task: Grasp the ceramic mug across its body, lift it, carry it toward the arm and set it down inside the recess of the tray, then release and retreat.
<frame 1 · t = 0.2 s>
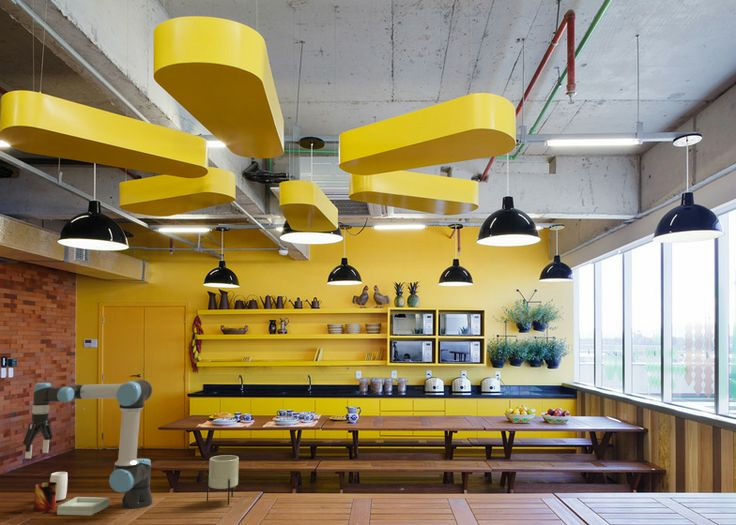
hand: (36, 455, 290), 27 cm above the table, fingers open, 13 cm apart
planter: (223, 502, 300), on the table
tray: (83, 510, 286), on the table
mug: (47, 509, 287), on the table
cup: (57, 501, 301), on the table
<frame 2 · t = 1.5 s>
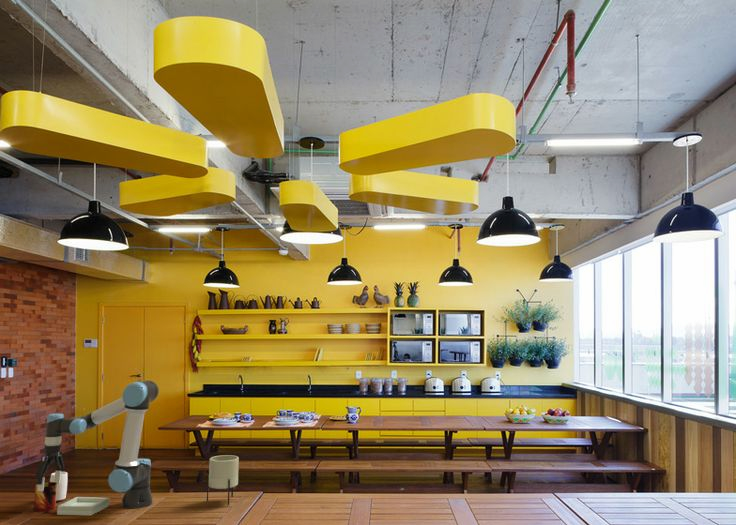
hand: (48, 487, 288), 11 cm above the table, fingers open, 13 cm apart
nothing on the table moved.
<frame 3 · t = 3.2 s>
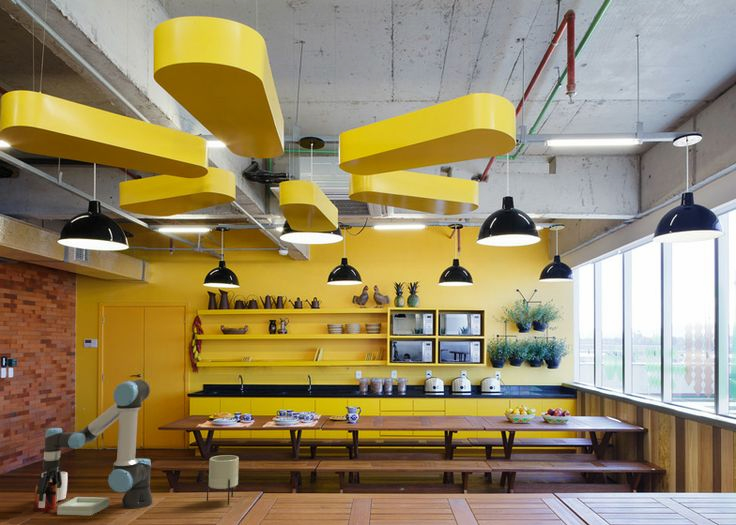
hand: (48, 504, 287), 2 cm above the table, fingers closed on mug, 10 cm apart
mug: (48, 509, 287), on the table, touching gripper
everything else where it was.
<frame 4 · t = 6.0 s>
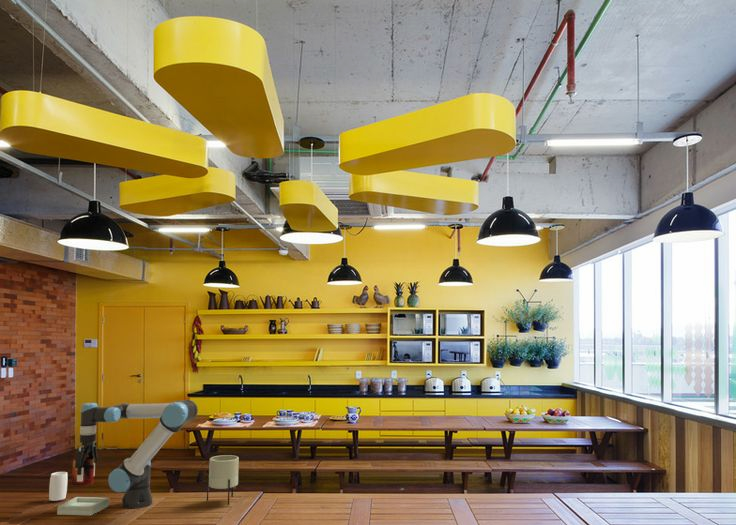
hand: (85, 478, 288), 15 cm above the table, fingers closed on mug, 10 cm apart
mug: (85, 483, 287), point 13 cm above the table, touching gripper
everything else where it was.
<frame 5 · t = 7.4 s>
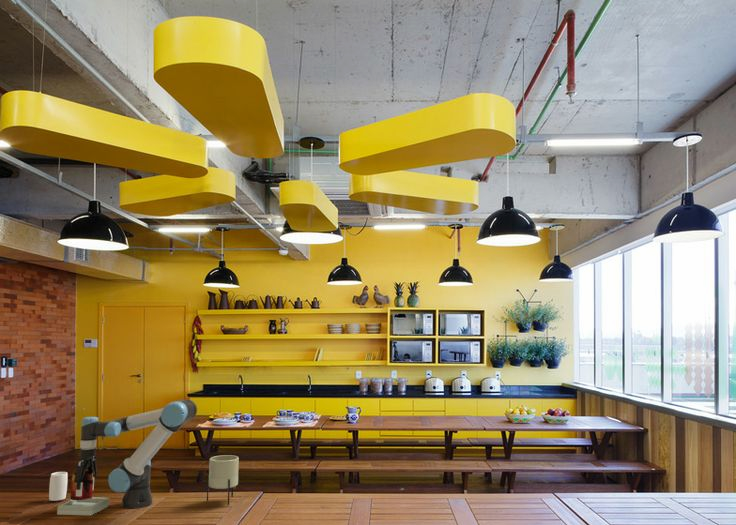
hand: (84, 493, 287), 8 cm above the table, fingers closed on mug, 10 cm apart
mug: (84, 498, 286), point 6 cm above the table, touching gripper
everything else where it was.
when the fingers open (6 cm above the table, at t = 8.9 s): mug drops 1 cm, resting on tray.
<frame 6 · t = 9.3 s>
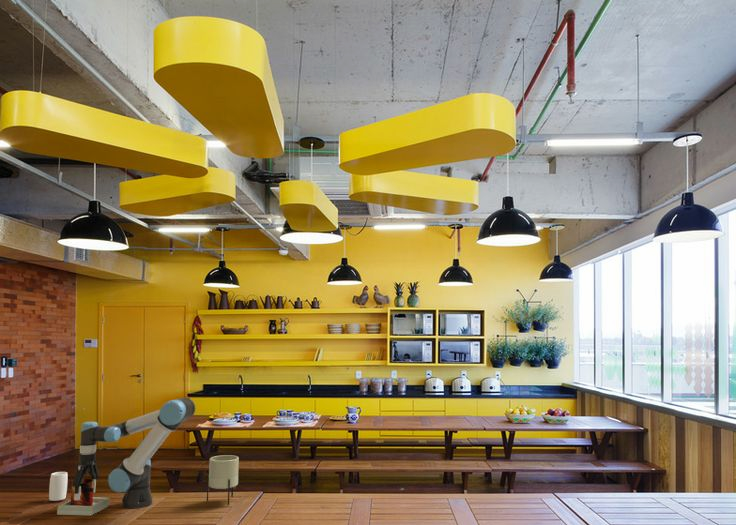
hand: (84, 496, 287), 7 cm above the table, fingers open, 13 cm apart
mug: (84, 506, 286), point 2 cm above the table, touching tray
everything else where it was.
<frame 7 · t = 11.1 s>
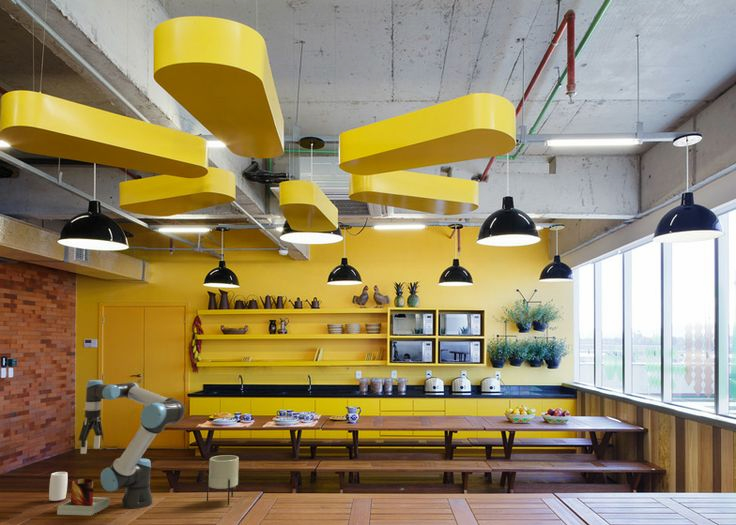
hand: (90, 450, 297), 28 cm above the table, fingers open, 13 cm apart
nothing on the table moved.
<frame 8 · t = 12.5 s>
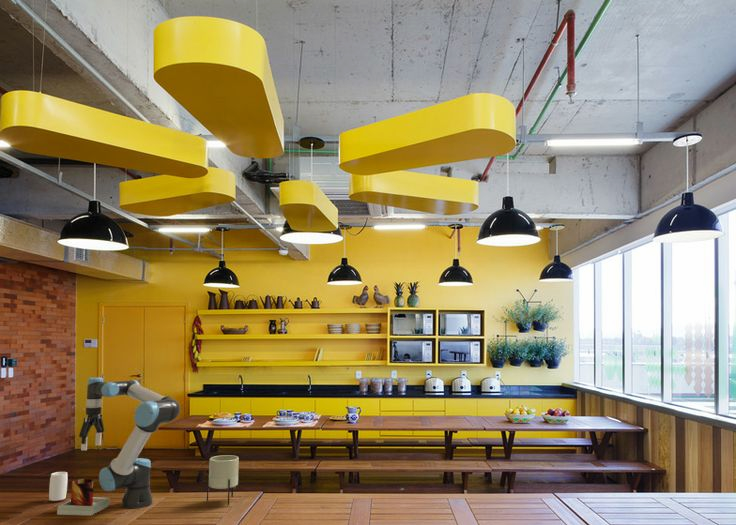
hand: (91, 447, 300), 29 cm above the table, fingers open, 13 cm apart
nothing on the table moved.
at the end: mug 0.5 cm from the tray (horizontally); mug tilted 0°; the gripper is holding nothing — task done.
